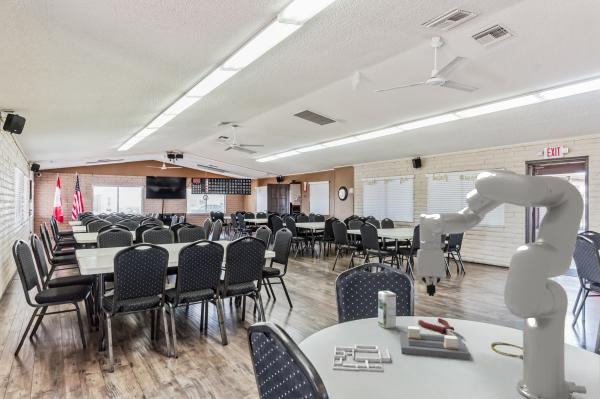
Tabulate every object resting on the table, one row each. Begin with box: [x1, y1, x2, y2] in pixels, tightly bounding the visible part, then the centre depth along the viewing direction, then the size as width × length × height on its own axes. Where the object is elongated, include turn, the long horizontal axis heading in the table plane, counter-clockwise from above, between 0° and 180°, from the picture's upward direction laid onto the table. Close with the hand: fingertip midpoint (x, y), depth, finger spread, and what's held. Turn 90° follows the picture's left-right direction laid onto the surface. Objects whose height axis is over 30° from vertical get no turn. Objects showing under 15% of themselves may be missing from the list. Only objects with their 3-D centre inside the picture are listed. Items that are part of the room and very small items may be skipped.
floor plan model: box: [332, 344, 391, 373], centre depth 125 cm, size 19×25×2 cm
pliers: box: [417, 317, 465, 339], centre depth 148 cm, size 12×21×3 cm, turn 14°
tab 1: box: [407, 325, 421, 338], centre depth 136 cm, size 4×3×3 cm
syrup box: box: [377, 290, 397, 329], centre depth 155 cm, size 6×6×14 cm
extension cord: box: [490, 341, 523, 360], centre depth 127 cm, size 12×16×2 cm
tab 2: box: [443, 334, 458, 348], centre depth 127 cm, size 4×3×3 cm
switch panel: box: [399, 331, 470, 360], centre depth 131 cm, size 22×16×2 cm
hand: (431, 295), depth 135 cm, fingers closed
